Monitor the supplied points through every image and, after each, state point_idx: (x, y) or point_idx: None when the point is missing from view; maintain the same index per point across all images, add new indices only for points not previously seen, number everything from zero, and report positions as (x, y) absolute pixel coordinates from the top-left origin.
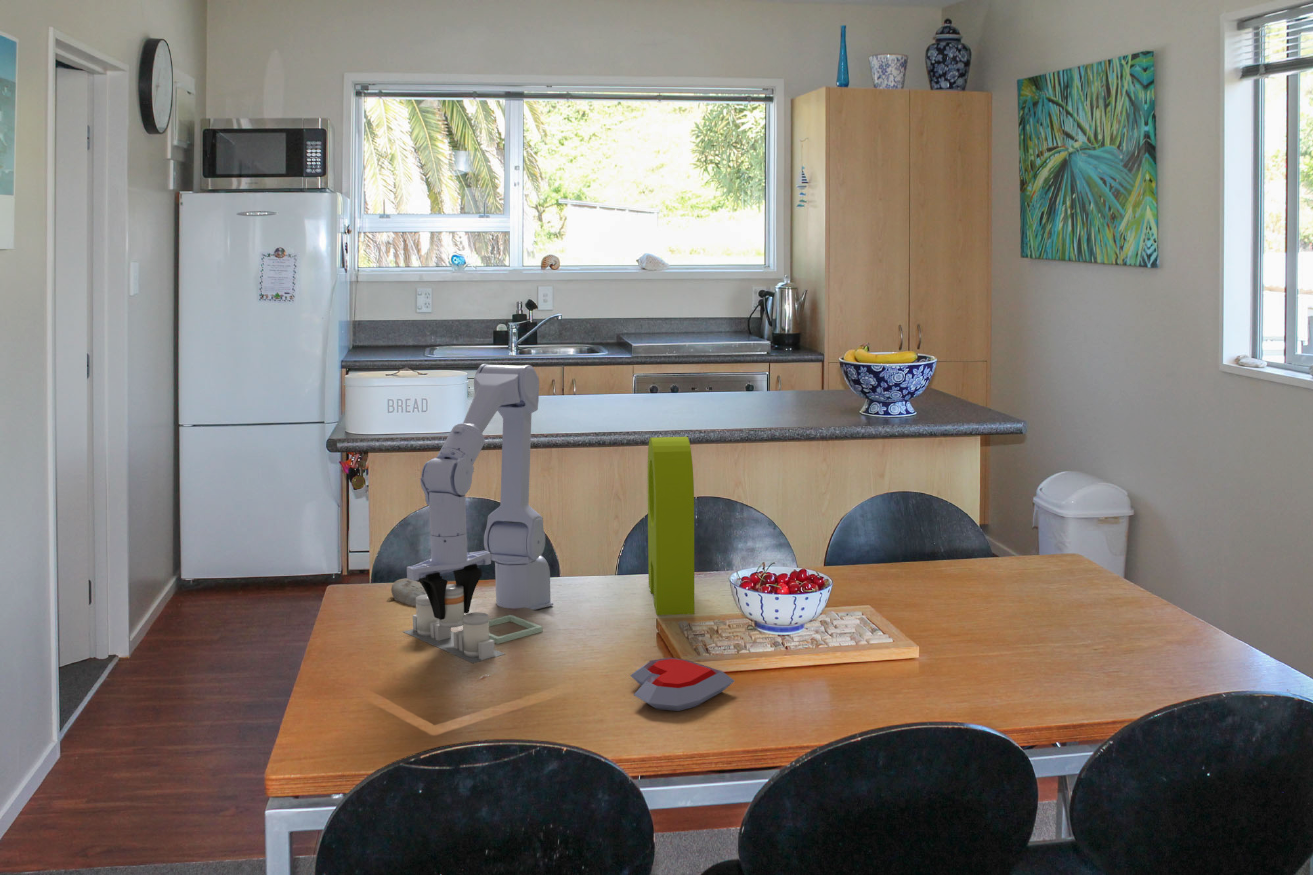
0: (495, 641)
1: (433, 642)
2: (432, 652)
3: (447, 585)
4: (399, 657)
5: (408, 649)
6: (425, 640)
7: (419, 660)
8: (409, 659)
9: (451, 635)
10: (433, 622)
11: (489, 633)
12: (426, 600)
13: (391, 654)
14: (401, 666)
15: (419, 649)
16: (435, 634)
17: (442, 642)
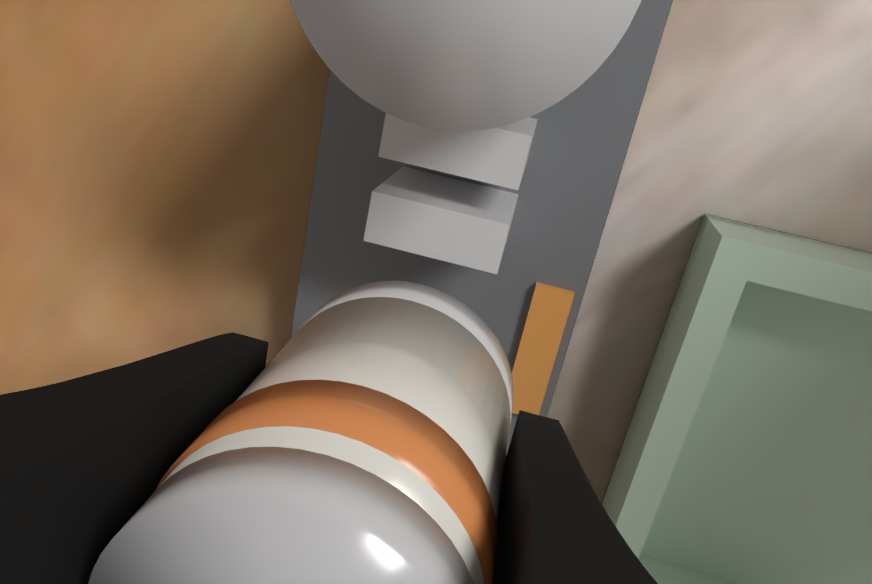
0: None
1: (346, 202)
2: (301, 243)
3: (322, 559)
4: (100, 125)
5: (234, 47)
6: (339, 114)
7: (155, 279)
8: (124, 211)
9: (547, 203)
10: (409, 128)
11: (651, 503)
12: (345, 34)
13: (95, 26)
14: (26, 261)
15: (284, 119)
16: (393, 174)
17: (384, 262)
